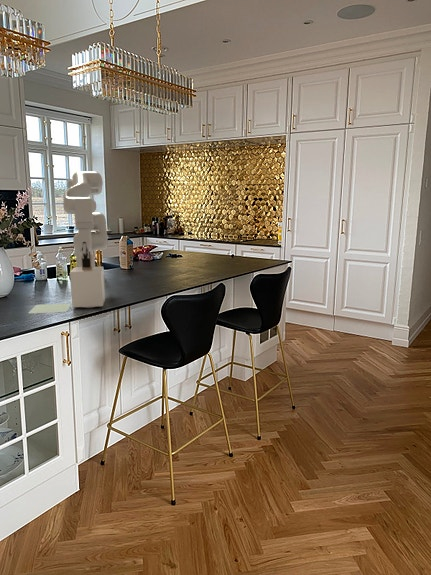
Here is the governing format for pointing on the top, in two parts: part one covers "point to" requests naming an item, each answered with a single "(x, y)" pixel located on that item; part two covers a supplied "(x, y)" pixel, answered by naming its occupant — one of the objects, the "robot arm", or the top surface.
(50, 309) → the mat
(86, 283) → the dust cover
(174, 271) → the top surface
